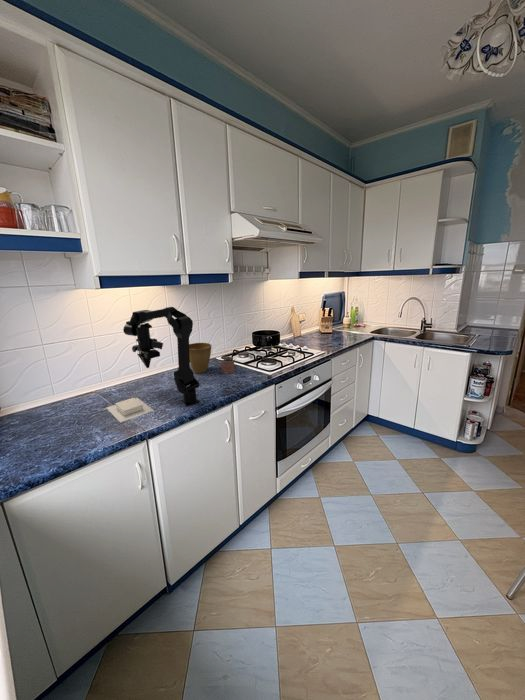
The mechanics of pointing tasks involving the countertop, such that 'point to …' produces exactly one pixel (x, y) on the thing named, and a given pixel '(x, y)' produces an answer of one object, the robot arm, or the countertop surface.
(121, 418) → the beige board
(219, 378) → the countertop surface
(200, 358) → the plant pot
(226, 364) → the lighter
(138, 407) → the tile
